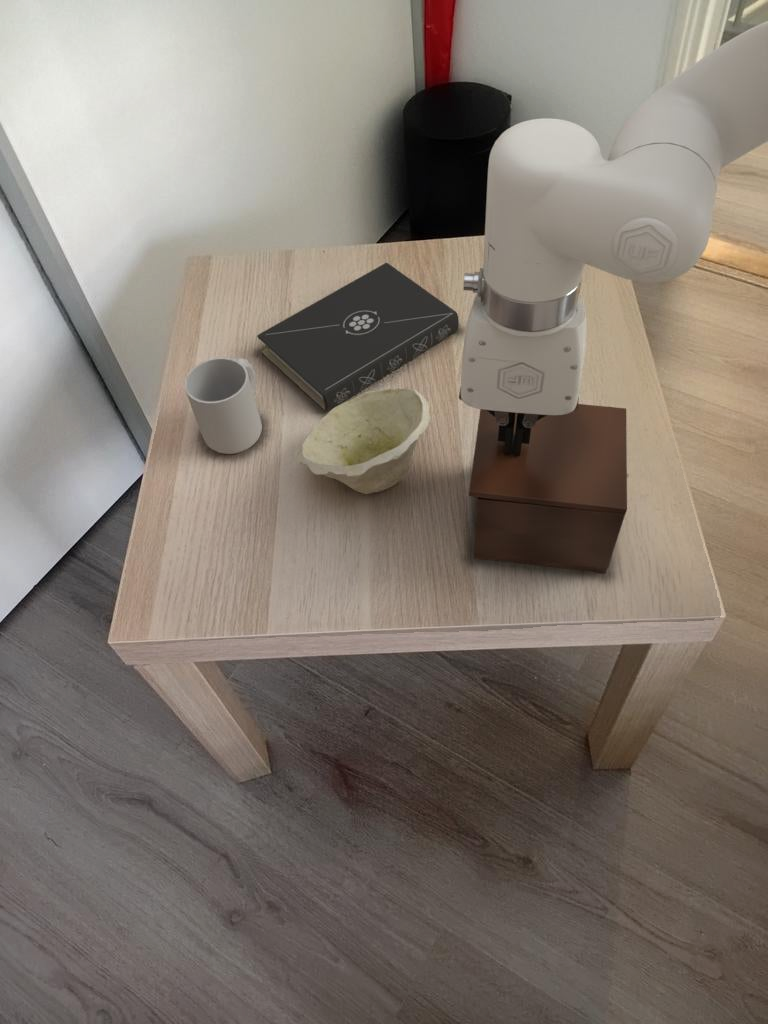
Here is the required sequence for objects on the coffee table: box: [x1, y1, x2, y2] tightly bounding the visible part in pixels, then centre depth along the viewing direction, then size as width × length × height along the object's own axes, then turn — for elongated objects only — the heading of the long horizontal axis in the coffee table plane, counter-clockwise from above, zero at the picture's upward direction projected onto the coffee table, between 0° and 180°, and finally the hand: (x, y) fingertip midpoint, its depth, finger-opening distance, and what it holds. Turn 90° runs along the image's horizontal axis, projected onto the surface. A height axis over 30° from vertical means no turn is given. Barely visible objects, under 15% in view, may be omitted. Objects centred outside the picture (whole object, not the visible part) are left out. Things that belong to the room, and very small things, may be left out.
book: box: [256, 262, 460, 413], centre depth 101 cm, size 22×15×3 cm
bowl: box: [297, 387, 432, 495], centre depth 86 cm, size 15×14×10 cm
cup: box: [183, 357, 263, 455], centre depth 92 cm, size 7×10×9 cm
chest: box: [473, 497, 626, 574], centre depth 80 cm, size 14×13×10 cm
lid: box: [468, 403, 628, 515], centre depth 76 cm, size 14×13×1 cm
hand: (513, 443), depth 76 cm, fingers closed
